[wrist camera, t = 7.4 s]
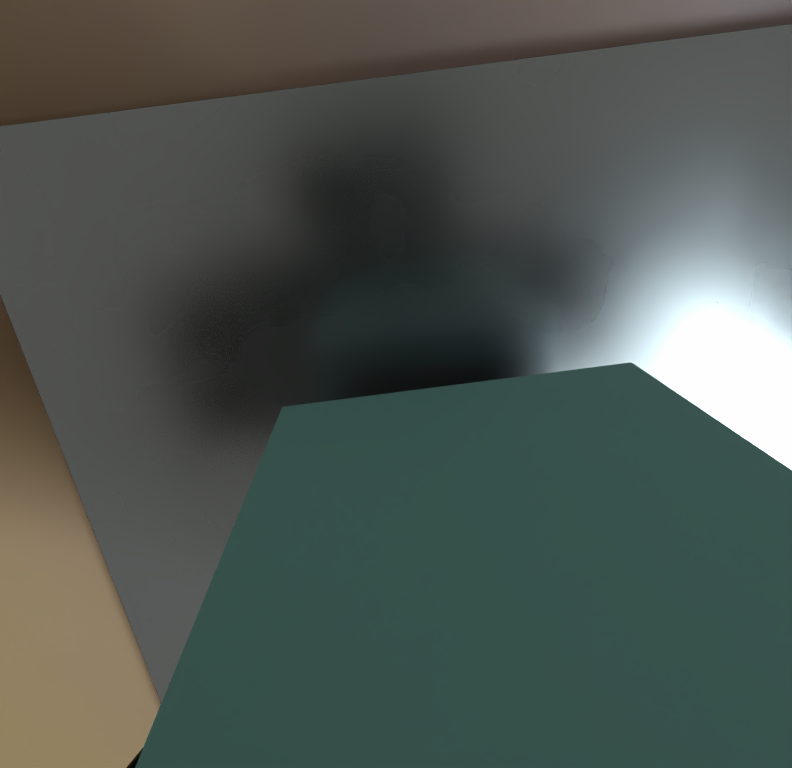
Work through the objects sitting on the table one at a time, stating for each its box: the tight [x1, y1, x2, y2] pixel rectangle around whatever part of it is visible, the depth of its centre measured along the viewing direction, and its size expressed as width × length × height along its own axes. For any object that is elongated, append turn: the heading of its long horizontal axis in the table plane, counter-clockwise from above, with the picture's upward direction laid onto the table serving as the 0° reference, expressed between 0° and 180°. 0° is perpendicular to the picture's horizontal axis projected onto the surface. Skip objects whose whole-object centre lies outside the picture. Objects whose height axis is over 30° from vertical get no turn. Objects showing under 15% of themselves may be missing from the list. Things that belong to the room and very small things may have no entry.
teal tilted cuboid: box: [135, 362, 792, 768], centre depth 6 cm, size 5×5×7 cm
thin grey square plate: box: [0, 24, 792, 703], centre depth 7 cm, size 14×14×7 cm
